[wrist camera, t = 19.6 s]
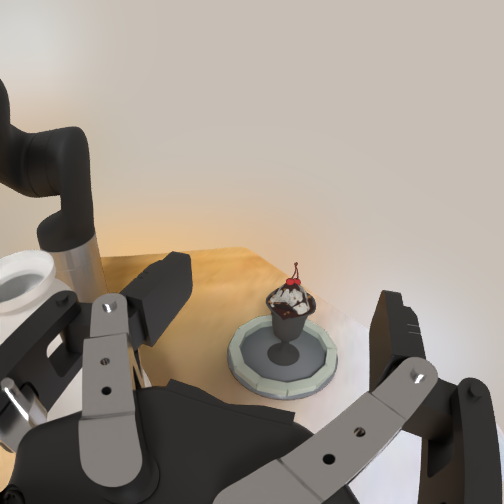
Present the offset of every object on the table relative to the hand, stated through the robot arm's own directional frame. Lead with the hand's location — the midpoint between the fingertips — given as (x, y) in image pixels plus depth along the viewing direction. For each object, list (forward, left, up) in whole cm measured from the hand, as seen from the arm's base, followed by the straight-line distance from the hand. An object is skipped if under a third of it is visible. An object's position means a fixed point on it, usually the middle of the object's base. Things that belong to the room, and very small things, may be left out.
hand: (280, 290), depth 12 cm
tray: (+10, +20, -28) cm, 36 cm away
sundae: (+10, +20, -28) cm, 36 cm away
